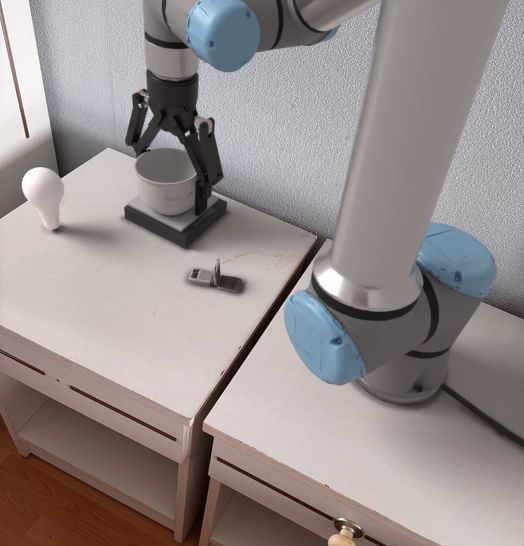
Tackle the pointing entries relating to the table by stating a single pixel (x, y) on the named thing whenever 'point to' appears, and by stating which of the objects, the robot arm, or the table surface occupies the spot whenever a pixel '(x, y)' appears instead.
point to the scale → (176, 220)
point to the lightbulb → (44, 194)
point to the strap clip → (214, 278)
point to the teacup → (166, 180)
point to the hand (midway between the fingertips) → (174, 198)
